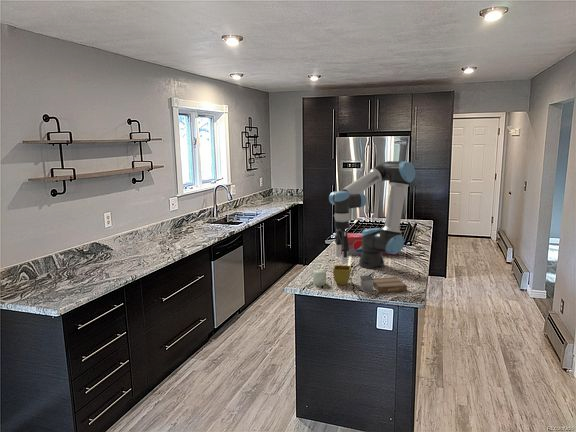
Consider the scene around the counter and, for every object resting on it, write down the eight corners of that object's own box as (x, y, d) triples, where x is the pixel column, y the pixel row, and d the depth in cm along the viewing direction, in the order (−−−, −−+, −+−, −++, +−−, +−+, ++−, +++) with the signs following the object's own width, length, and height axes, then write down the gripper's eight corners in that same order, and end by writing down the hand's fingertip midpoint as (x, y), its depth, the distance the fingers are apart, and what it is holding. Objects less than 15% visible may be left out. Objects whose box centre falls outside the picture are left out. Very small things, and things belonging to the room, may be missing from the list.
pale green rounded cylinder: (312, 282, 230) (312, 269, 229) (324, 281, 231) (324, 269, 229) (314, 286, 223) (314, 273, 222) (327, 285, 224) (327, 272, 223)
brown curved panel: (371, 284, 224) (371, 278, 223) (396, 282, 225) (396, 277, 225) (380, 293, 210) (380, 287, 209) (406, 291, 211) (406, 285, 211)
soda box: (399, 251, 290) (400, 233, 288) (399, 257, 276) (400, 238, 274) (341, 249, 300) (341, 232, 298) (338, 254, 287) (338, 236, 285)
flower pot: (351, 281, 229) (350, 265, 228) (349, 286, 221) (349, 270, 219) (335, 280, 231) (334, 264, 230) (333, 285, 223) (332, 269, 221)
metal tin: (360, 288, 218) (360, 275, 217) (370, 287, 218) (370, 275, 217) (363, 292, 213) (363, 279, 211) (373, 291, 213) (373, 278, 212)
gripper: (329, 217, 232) (329, 254, 236) (340, 225, 208) (340, 266, 211) (342, 216, 233) (342, 253, 236) (355, 224, 209) (354, 265, 212)
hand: (341, 259), depth 224 cm, fingers open, 13 cm apart
